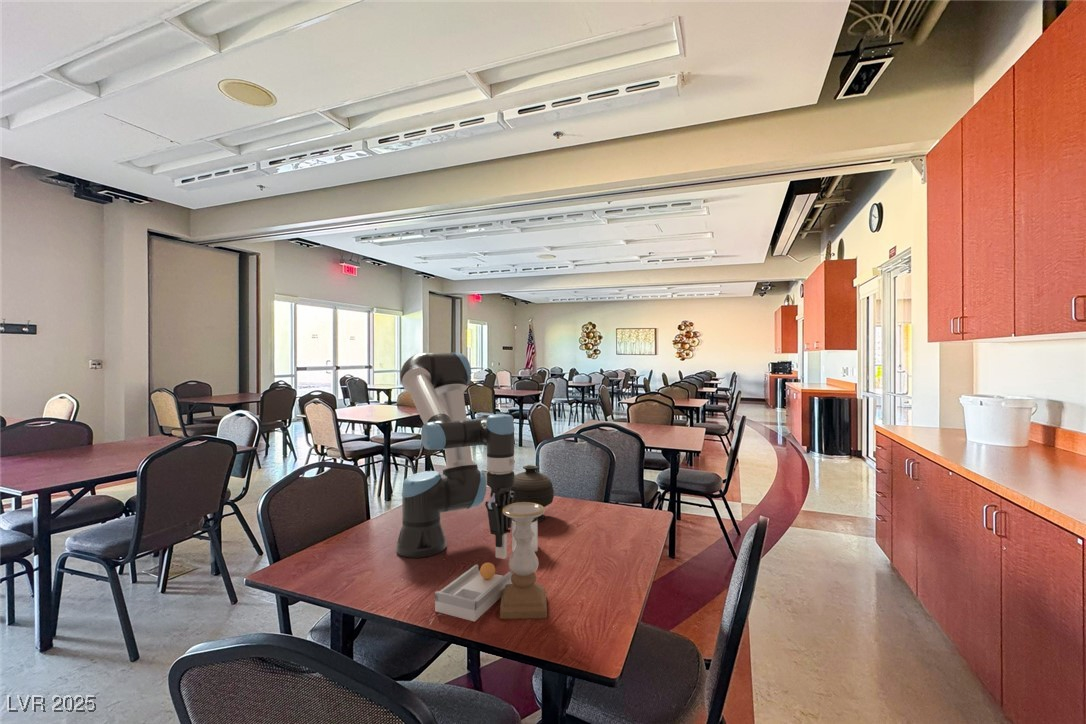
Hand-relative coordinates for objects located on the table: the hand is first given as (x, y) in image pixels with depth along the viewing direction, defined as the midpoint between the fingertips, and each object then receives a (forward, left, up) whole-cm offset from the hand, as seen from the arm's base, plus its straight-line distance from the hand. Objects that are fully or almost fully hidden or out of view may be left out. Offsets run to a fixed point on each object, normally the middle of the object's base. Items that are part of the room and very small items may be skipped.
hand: (501, 557), depth 130 cm
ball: (0, -7, -1) cm, 7 cm away
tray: (0, -13, -6) cm, 14 cm away
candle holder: (+12, -11, -6) cm, 18 cm away
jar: (-3, +20, -6) cm, 21 cm away
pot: (-14, +47, -6) cm, 49 cm away
